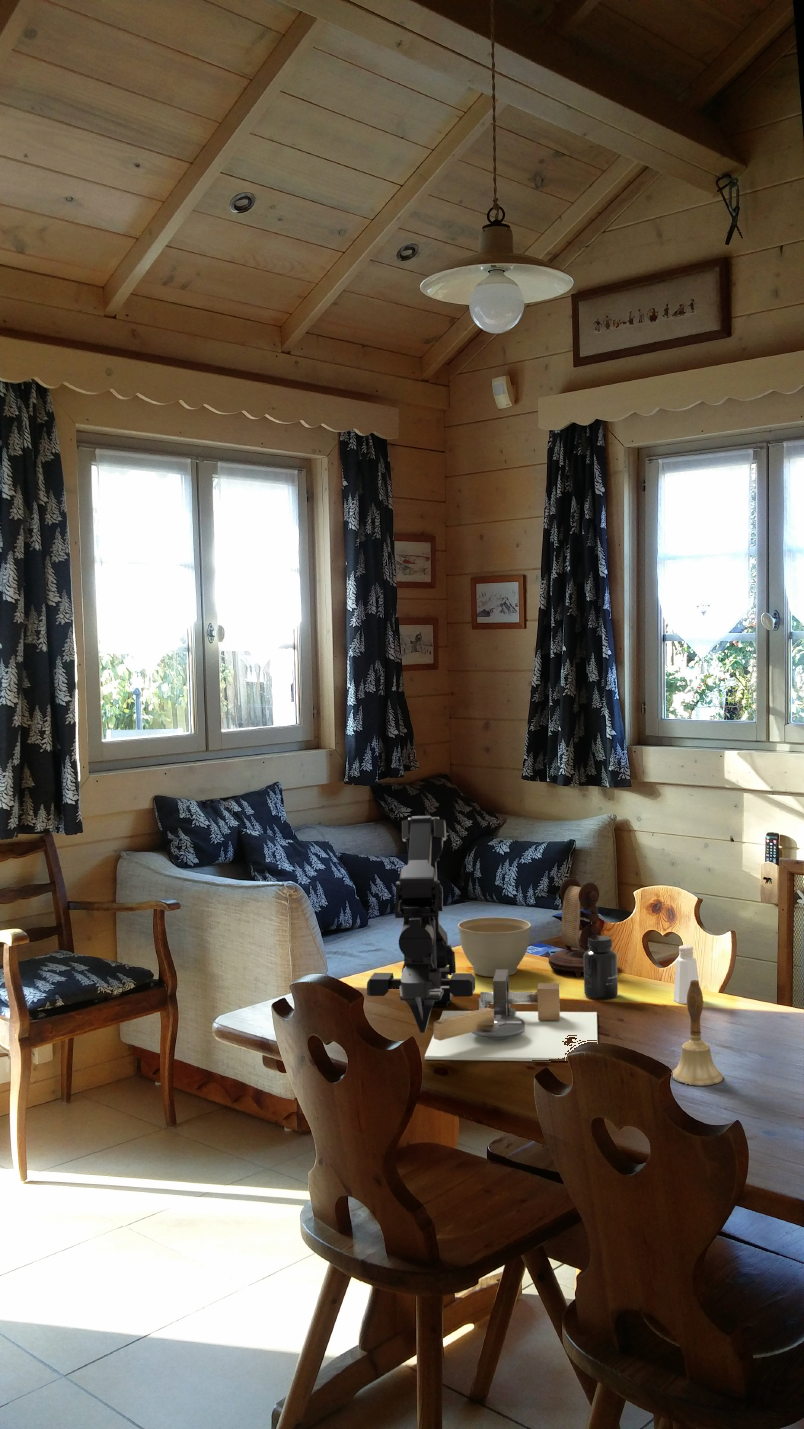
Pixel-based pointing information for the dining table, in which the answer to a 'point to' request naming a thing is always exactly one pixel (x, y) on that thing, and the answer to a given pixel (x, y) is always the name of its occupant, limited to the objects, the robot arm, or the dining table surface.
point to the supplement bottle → (600, 969)
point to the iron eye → (501, 993)
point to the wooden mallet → (532, 1000)
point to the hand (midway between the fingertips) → (422, 1032)
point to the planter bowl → (494, 943)
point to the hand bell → (696, 1047)
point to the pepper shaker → (684, 973)
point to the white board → (519, 1039)
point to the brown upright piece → (576, 924)
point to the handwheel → (478, 1025)
